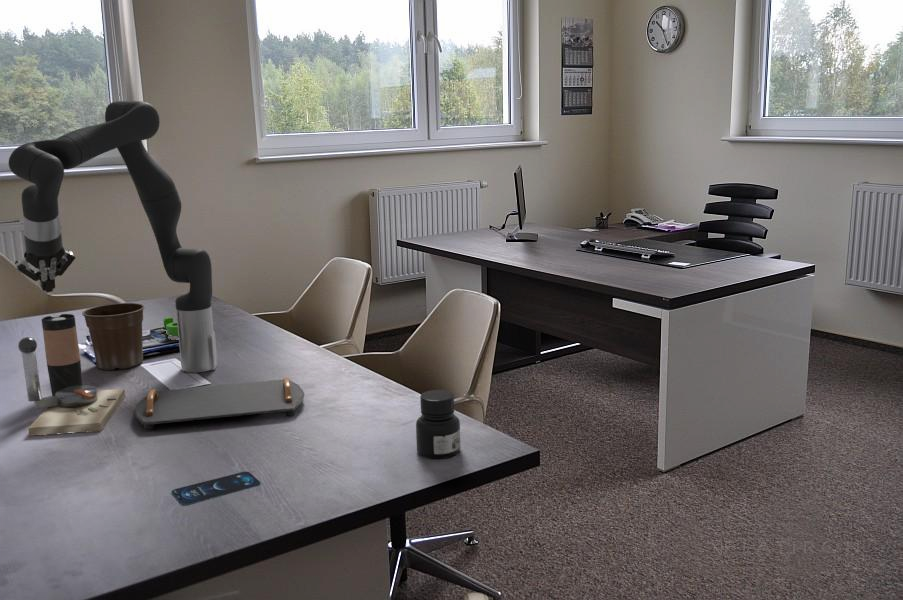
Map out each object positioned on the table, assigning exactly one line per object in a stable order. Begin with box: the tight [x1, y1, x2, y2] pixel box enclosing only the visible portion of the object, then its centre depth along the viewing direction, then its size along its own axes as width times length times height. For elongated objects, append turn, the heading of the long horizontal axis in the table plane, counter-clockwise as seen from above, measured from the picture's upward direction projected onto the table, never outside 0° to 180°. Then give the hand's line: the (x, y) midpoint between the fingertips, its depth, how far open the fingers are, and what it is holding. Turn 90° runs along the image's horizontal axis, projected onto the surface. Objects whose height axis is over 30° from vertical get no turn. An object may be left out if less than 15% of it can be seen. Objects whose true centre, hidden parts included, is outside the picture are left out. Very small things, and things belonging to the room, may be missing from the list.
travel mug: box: [41, 313, 83, 396], centre depth 210 cm, size 8×8×20 cm
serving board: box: [133, 376, 305, 432], centre depth 199 cm, size 39×23×6 cm, turn 103°
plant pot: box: [81, 302, 145, 371], centre depth 236 cm, size 16×16×16 cm
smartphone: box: [171, 471, 262, 506], centre depth 157 cm, size 8×1×15 cm
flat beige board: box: [27, 388, 126, 437], centre depth 197 cm, size 15×24×2 cm, turn 9°
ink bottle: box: [415, 389, 461, 459], centre depth 170 cm, size 10×9×12 cm
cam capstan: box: [17, 336, 98, 410], centre depth 195 cm, size 13×15×17 cm
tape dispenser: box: [162, 316, 178, 336], centre depth 268 cm, size 15×7×5 cm, turn 25°
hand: (48, 289), depth 197 cm, fingers closed
